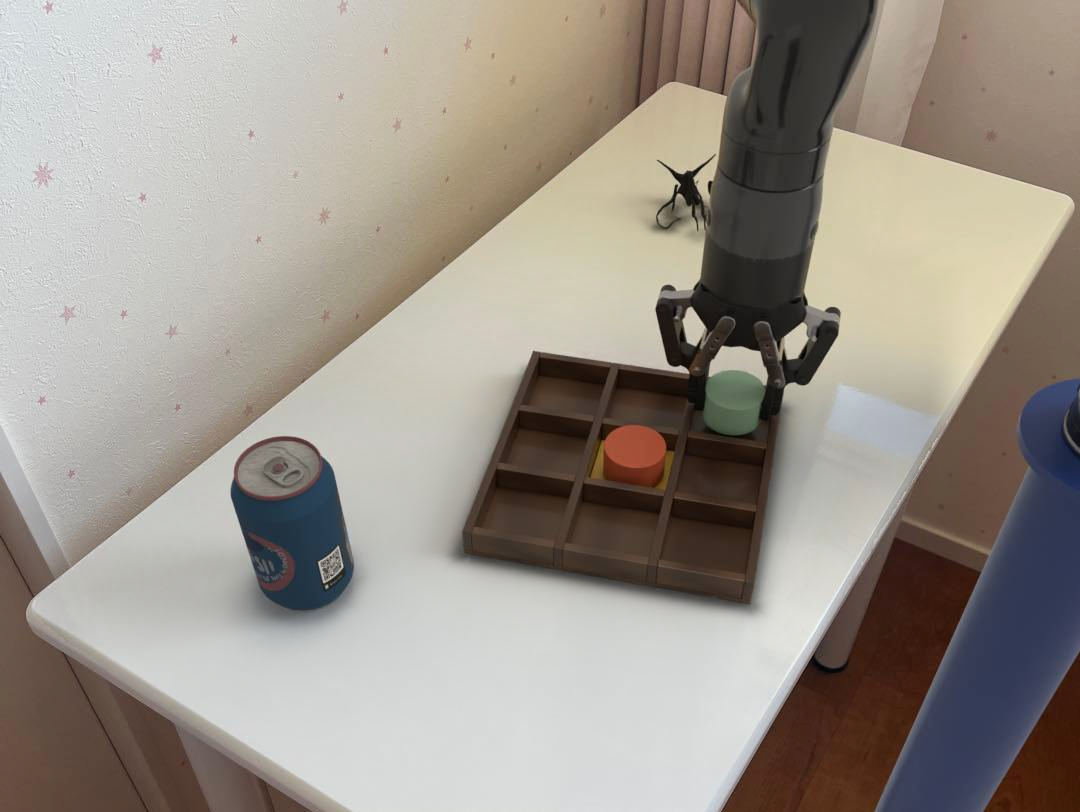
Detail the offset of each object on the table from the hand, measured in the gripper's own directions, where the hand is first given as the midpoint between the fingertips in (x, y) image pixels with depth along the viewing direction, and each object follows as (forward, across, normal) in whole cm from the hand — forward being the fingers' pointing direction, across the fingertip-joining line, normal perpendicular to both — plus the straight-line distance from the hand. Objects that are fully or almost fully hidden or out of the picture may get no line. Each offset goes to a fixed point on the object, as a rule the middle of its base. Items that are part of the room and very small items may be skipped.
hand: (732, 408), depth 89 cm
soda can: (+3, +28, +23) cm, 36 cm away
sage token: (+1, 0, 0) cm, 1 cm away
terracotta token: (+2, +7, +7) cm, 10 cm away
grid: (+3, +7, +7) cm, 10 cm away
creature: (+3, +8, -31) cm, 32 cm away
